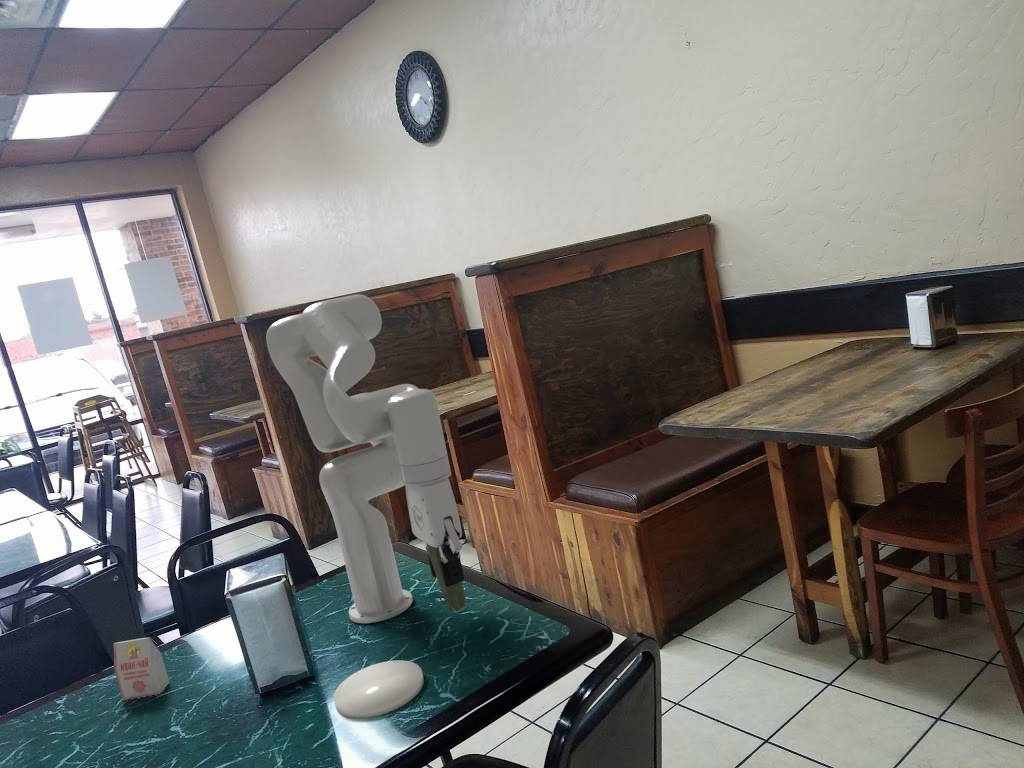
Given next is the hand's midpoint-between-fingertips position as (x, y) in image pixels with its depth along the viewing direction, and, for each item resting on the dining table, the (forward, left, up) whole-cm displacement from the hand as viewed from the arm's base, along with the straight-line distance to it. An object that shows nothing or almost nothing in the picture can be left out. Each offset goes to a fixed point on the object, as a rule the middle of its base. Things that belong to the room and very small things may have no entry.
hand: (448, 577), depth 124 cm
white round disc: (-3, -14, -15) cm, 20 cm away
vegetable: (0, 0, -7) cm, 7 cm away
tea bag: (-38, -46, -15) cm, 62 cm away
